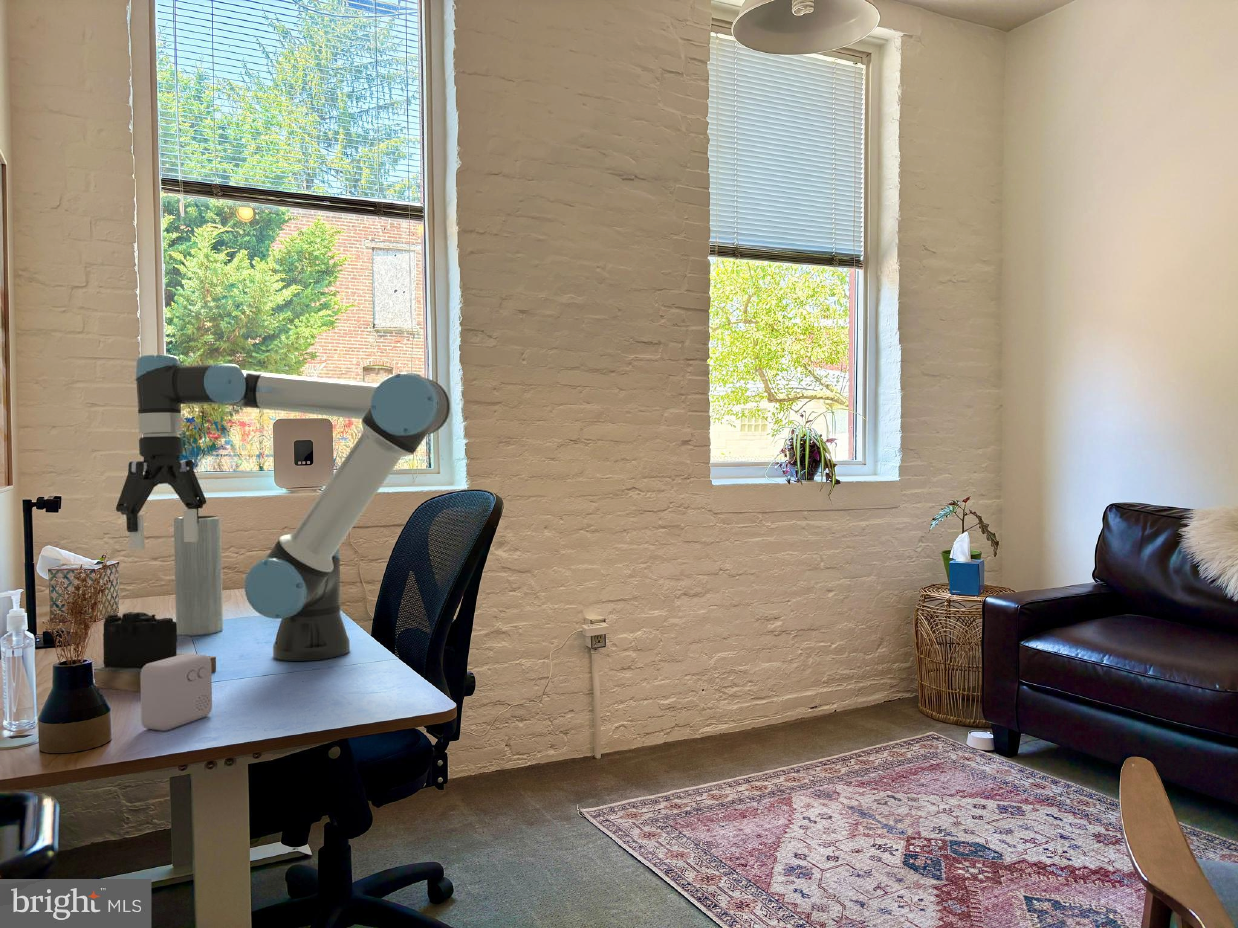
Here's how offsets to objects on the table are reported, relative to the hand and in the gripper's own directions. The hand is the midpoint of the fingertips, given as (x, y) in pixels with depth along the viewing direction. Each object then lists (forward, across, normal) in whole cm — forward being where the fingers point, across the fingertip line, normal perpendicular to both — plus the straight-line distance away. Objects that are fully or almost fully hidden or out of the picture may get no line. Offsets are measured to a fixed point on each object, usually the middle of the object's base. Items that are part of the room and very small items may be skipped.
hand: (165, 545), depth 175 cm
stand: (+24, +6, +1) cm, 25 cm away
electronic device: (+25, +28, +28) cm, 46 cm away
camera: (+22, +6, +2) cm, 22 cm away
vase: (+24, -32, -22) cm, 46 cm away
